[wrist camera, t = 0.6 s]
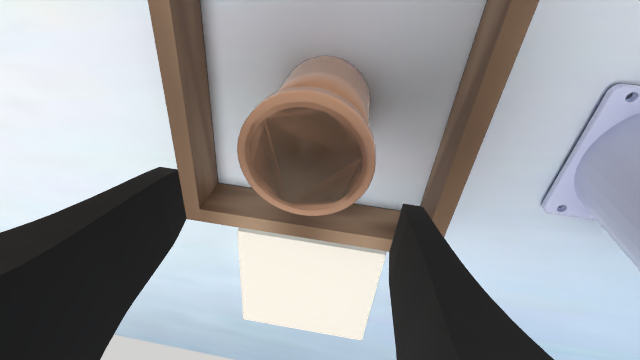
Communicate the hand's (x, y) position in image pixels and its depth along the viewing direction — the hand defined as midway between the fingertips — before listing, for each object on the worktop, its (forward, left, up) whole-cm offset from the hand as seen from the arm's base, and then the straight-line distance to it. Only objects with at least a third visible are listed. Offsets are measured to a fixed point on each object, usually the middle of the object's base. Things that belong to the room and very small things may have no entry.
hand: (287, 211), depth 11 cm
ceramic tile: (0, +16, -10) cm, 19 cm away
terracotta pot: (0, 0, -10) cm, 10 cm away
